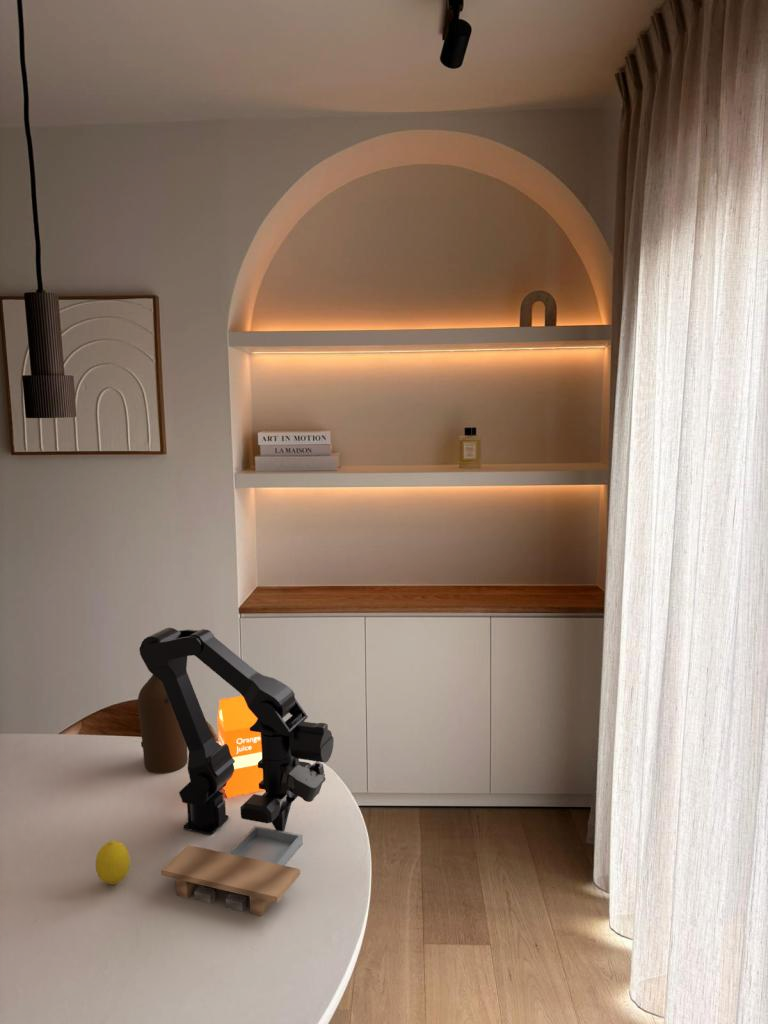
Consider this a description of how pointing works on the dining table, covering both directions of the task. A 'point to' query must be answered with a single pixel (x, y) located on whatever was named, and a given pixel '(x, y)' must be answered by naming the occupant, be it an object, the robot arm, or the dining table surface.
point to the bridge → (229, 878)
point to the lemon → (112, 862)
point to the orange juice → (240, 745)
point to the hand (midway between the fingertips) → (280, 832)
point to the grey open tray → (268, 845)
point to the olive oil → (160, 730)
